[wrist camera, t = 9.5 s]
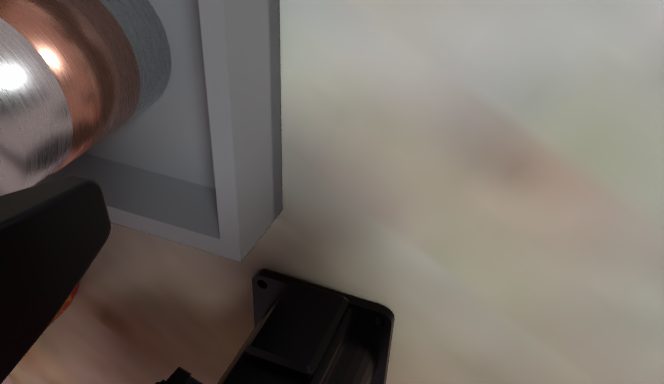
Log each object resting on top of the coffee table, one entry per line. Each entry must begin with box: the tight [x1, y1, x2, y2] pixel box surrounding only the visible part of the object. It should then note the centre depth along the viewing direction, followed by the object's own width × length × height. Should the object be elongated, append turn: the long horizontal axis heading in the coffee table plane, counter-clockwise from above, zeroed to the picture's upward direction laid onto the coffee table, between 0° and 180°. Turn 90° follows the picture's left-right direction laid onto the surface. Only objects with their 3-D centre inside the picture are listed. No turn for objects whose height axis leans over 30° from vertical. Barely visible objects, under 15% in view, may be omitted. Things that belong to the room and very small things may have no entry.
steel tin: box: [0, 0, 171, 196], centre depth 20 cm, size 6×6×7 cm
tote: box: [34, 0, 282, 262], centre depth 23 cm, size 13×21×4 cm, turn 88°
